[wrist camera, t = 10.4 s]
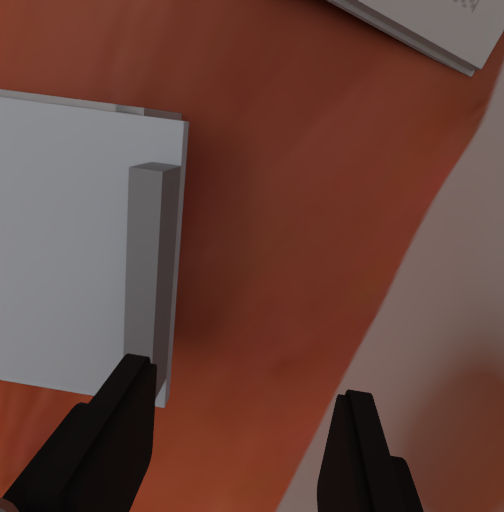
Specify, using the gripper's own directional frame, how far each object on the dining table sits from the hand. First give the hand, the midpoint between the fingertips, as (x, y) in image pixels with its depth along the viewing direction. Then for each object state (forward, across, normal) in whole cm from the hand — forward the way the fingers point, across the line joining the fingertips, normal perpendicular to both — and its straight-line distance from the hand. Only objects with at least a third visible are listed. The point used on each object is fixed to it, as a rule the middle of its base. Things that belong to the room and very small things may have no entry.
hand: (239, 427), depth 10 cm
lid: (+9, +9, 0) cm, 13 cm away
